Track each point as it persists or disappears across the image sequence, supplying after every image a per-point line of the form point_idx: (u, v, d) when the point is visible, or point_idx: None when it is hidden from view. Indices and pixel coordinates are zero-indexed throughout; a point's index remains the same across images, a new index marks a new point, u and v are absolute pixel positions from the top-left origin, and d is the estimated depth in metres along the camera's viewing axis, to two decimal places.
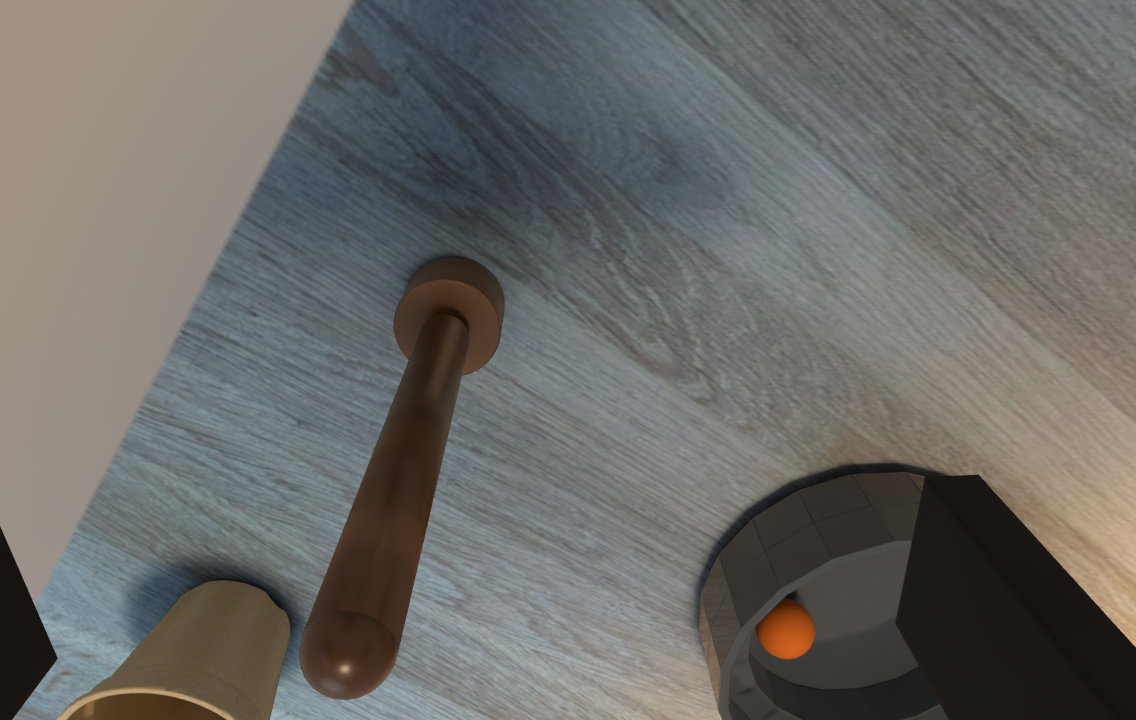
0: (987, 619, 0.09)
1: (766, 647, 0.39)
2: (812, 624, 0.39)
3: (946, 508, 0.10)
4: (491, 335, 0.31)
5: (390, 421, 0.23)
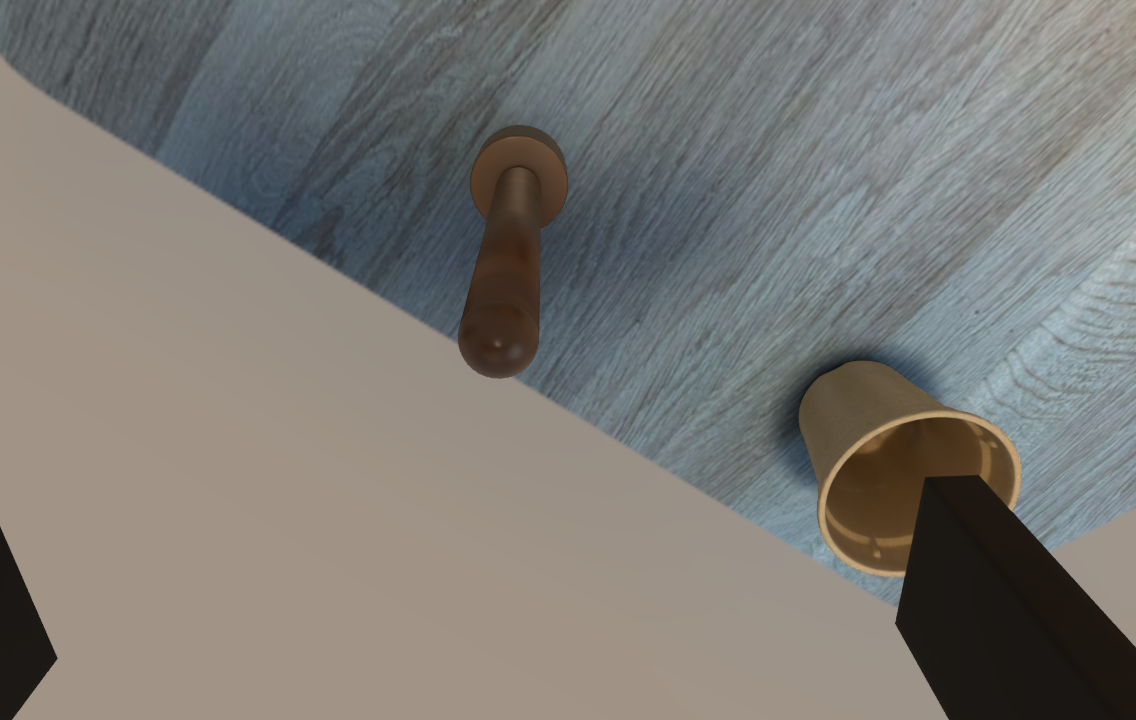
0: (986, 619, 0.09)
1: None
2: None
3: (946, 508, 0.10)
4: (524, 144, 0.33)
5: None
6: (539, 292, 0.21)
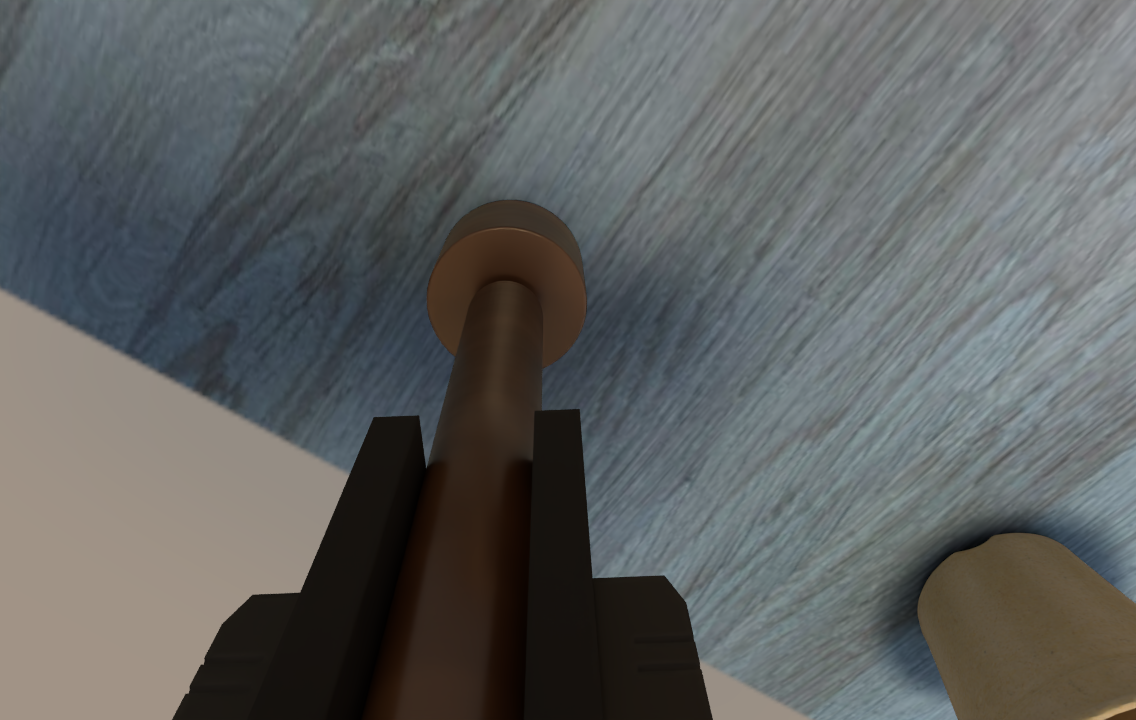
0: None
1: None
2: None
3: None
4: (514, 240, 0.20)
5: None
6: None
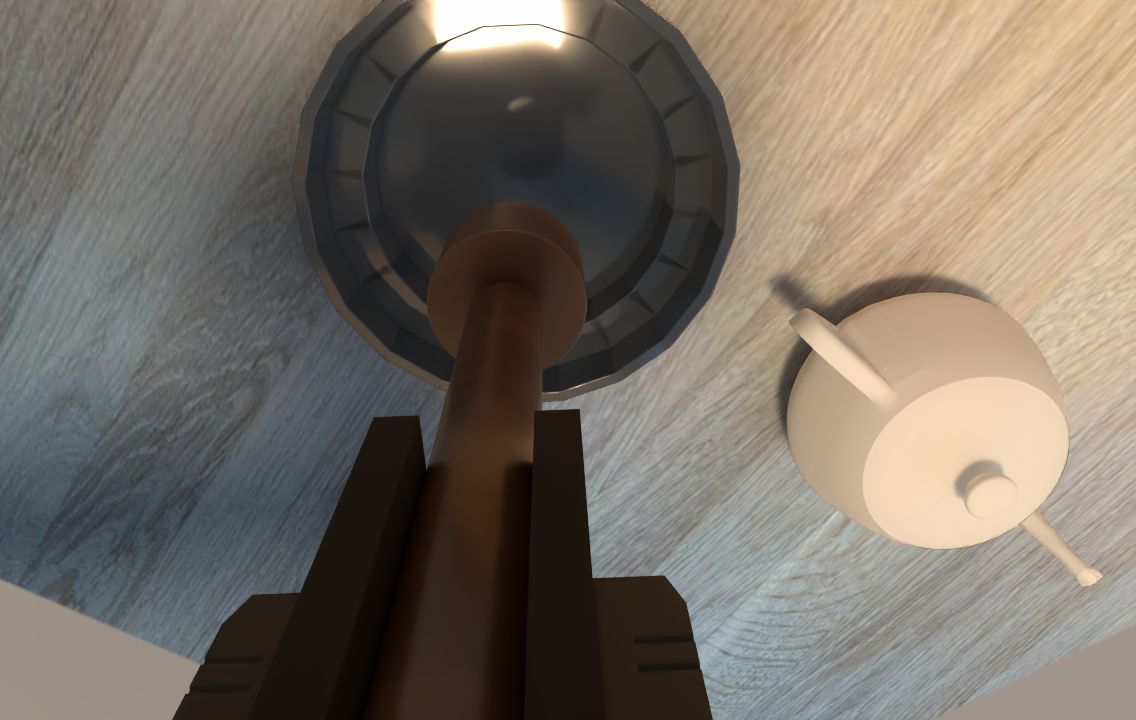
0: None
1: None
2: None
3: None
4: (515, 242, 0.20)
5: None
6: None
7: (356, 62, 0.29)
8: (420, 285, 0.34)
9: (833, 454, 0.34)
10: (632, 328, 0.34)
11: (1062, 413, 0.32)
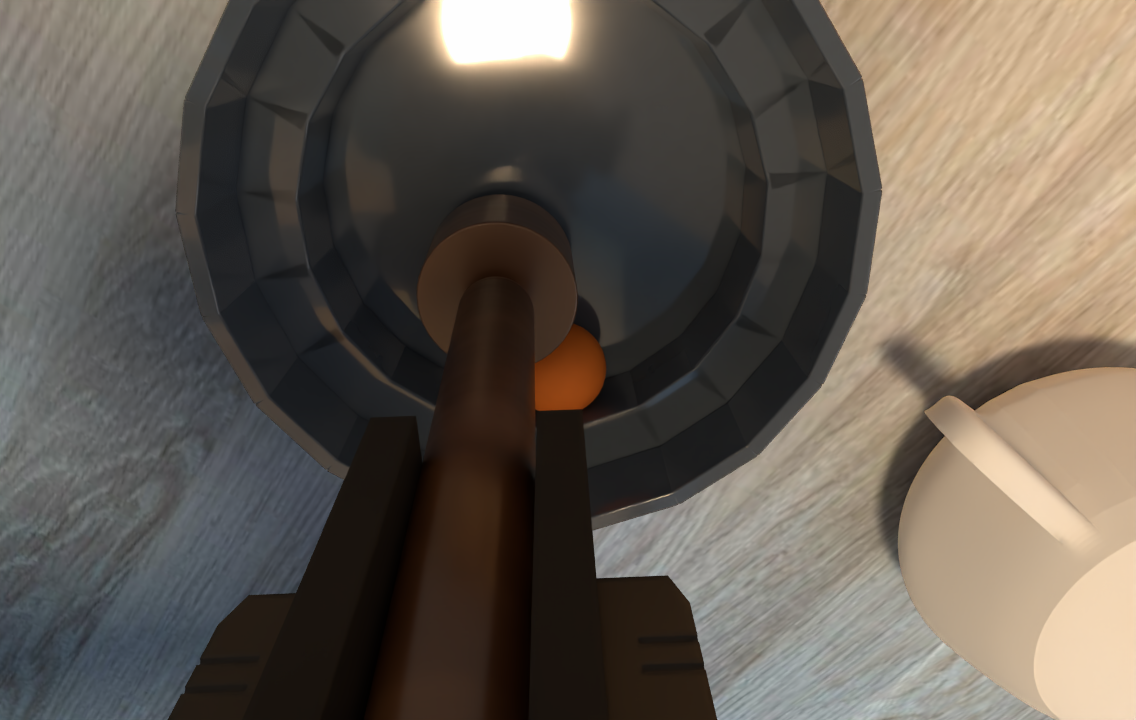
0: None
1: None
2: None
3: None
4: (502, 235, 0.20)
5: None
6: None
7: (281, 24, 0.19)
8: (388, 354, 0.24)
9: (985, 605, 0.23)
10: (693, 419, 0.24)
11: None
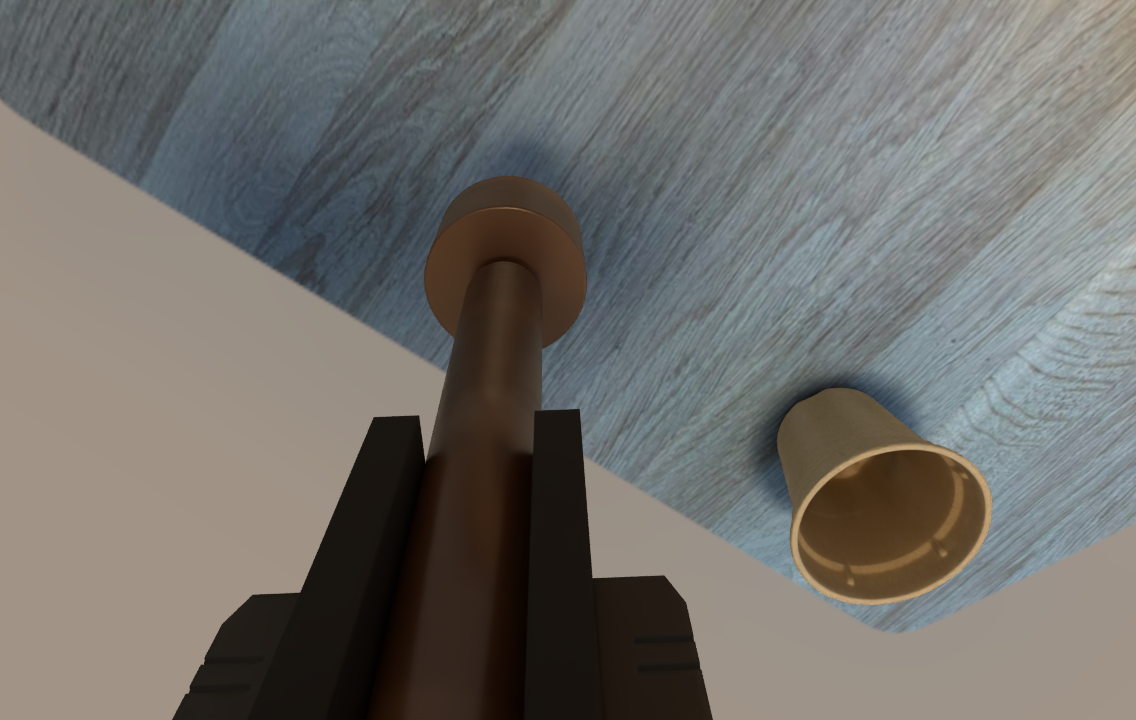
0: None
1: None
2: None
3: None
4: (503, 219, 0.20)
5: None
6: None
7: None
8: None
9: None
10: None
11: None
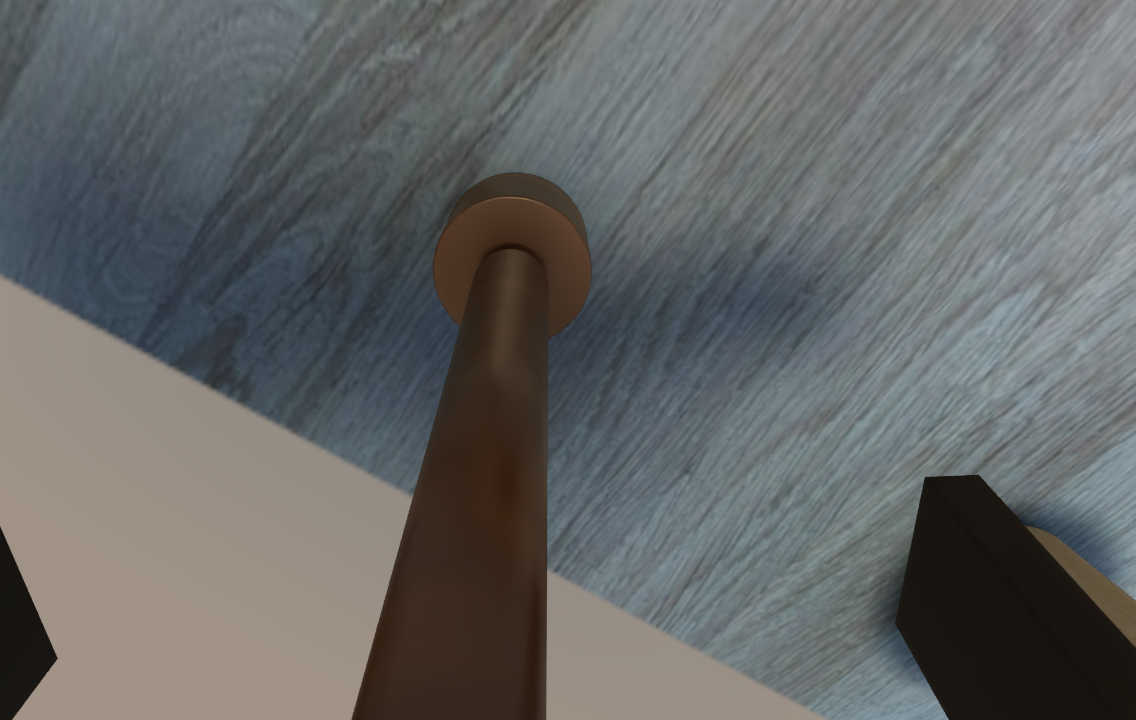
0: (987, 619, 0.09)
1: None
2: None
3: (946, 508, 0.10)
4: (510, 208, 0.20)
5: None
6: (542, 673, 0.08)
7: None
8: None
9: None
10: None
11: None
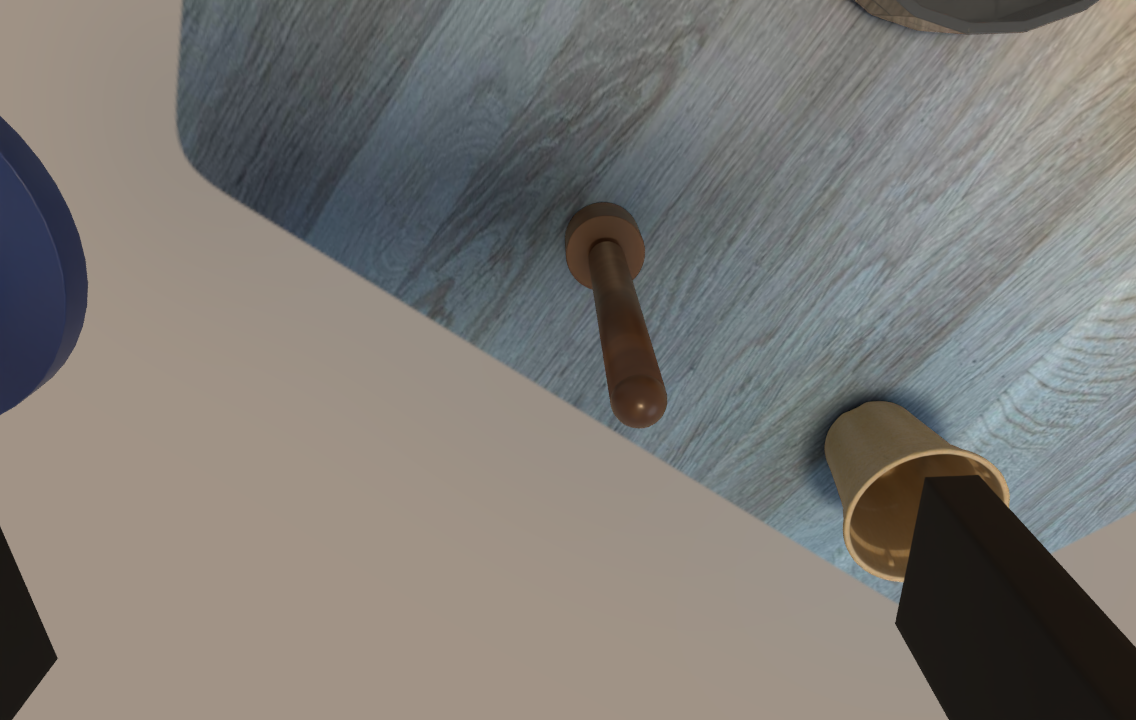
0: (987, 620, 0.09)
1: None
2: None
3: (946, 508, 0.10)
4: (606, 221, 0.41)
5: None
6: None
7: None
8: None
9: None
10: None
11: None
